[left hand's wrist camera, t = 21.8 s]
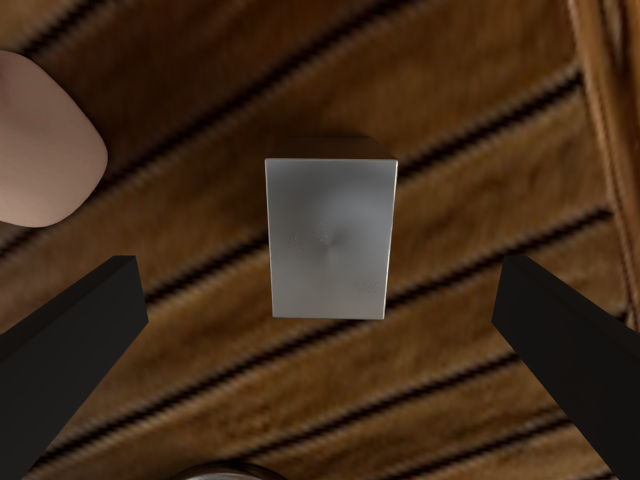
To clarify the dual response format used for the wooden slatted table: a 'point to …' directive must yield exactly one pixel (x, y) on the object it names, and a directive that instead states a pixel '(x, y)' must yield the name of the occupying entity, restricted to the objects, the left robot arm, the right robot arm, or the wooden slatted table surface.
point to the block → (330, 226)
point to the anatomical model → (43, 147)
